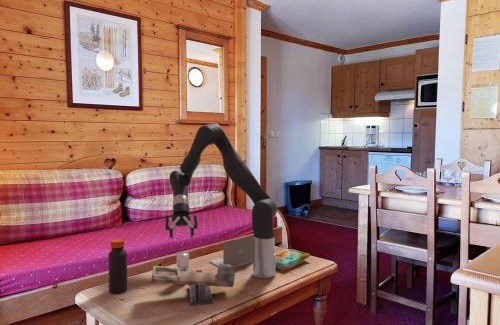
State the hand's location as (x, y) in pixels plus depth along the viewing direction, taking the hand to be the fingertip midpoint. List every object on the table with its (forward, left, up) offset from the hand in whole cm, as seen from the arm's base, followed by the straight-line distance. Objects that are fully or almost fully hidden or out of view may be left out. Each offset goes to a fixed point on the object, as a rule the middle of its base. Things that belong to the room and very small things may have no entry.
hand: (181, 237), depth 166 cm
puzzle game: (-50, -2, -16) cm, 53 cm away
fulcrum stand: (-6, +26, -16) cm, 31 cm away
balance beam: (-3, +26, -9) cm, 27 cm away
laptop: (-24, -9, -16) cm, 30 cm away
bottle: (+25, +16, -16) cm, 33 cm away
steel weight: (0, +12, -16) cm, 20 cm away
